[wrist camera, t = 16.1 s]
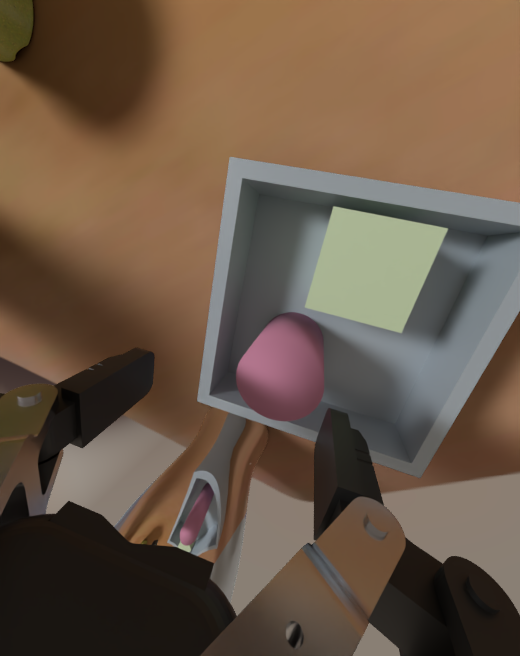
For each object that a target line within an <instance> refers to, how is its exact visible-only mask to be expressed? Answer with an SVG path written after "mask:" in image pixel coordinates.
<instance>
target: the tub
mask: <svg viewBox="0 0 520 656" xmlns="http://www.w3.org/2000/svg"><path fill="white" fill-rule="evenodd" d="M333 206H335V207H340V208H345V209H351V210H356V211H361V212H366V213H371V214H376V215H382V216H387V217H392V218H397V219H402V220H407V221H412V222H418V223H423V224H428V225H433V226H438V227H443V228H448V230H447V233H446V235H445V237H444V239H443V241H442V244H441V246H440V248H439V250H438V253H437V255H436V257H435V259H434V262H433V264H432V266H431V268H430V271H429V273H428V275H427V277H426V279H425V282H424V284H423V286H422V288H421V291H420V293H419V295H418V297H417V300H416V302H415V304H414V306H413V309H412V311H411V313H410V315H409V317H408V320H407V322H406V324H405V326H404V329H403V331H402V333H399V332H395V331H391V330H387V329H384V328H380V327H376V326H372V325H369V324H365V323H361V322H357V321H354V320H350V319H346V318H342V317H339V316H335V315H331V314H327V313H324V312H320V311H316V310H312V309H309V308H305V304H306V301H307V297H308V294H309V290H310V287H311V283H312V280H313V276H314V273H315V269H316V266H317V262H318V259H319V255H320V252H321V248H322V245H323V241H324V238H325V234H326V231H327V227H328V224H329V220H330V217H331V213H332V210H333ZM519 311H520V203H517V202H511V201H504V200H498V199H492V198H486V197H479V196H473V195H467V194H460V193H454V192H448V191H442V190H435V189H429V188H423V187H416V186H410V185H404V184H398V183H391V182H385V181H379V180H372V179H366V178H360V177H354V176H347V175H341V174H335V173H328V172H322V171H316V170H310V169H303V168H297V167H291V166H284V165H278V164H272V163H265V162H259V161H253V160H247V159H240V158H234V157H230V159H229V166H228V174H227V181H226V189H225V196H224V204H223V211H222V219H221V226H220V234H219V241H218V249H217V256H216V263H215V271H214V278H213V286H212V293H211V301H210V308H209V316H208V323H207V331H206V338H205V346H204V353H203V361H202V368H201V375H200V383H199V390H198V398H197V401H198V402H201V403H204V404H206V405H209V406H212V407H215V408H218V409H221V410H224V411H227V412H230V413H232V414H235V415H238V416H241V417H244V418H247V419H250V420H253V421H256V422H259V423H261V424H264V425H267V426H270V427H273V428H276V429H279V430H282V431H285V432H288V433H290V434H293V435H296V436H299V437H302V438H305V439H308V440H311V441H314V442H316V439H317V436H318V433H319V431H320V428H321V425H322V422H323V420H324V417H325V414H326V412H327V410H328V408H332V409H335V410H338V411H341V412H344V413H347V414H348V416H349V421H350V426H351V428H353V429H356V430H359V432H360V433H361V434H362V436H363V437H364V439H365V440H366V442H367V445H368V449H369V452H370V456H371V460H372V462H374V463H377V464H380V465H383V466H386V467H389V468H392V469H395V470H398V471H400V472H403V473H406V474H409V475H412V476H415V477H418V478H421V476H422V475H423V473H424V471H425V469H426V468H427V466H428V464H429V463H430V461H431V459H432V458H433V456H434V454H435V453H436V451H437V449H438V448H439V446H440V444H441V443H442V441H443V439H444V437H445V436H446V434H447V432H448V431H449V429H450V427H451V426H452V424H453V422H454V421H455V419H456V417H457V416H458V414H459V412H460V411H461V409H462V407H463V405H464V404H465V402H466V400H467V399H468V397H469V395H470V394H471V392H472V390H473V389H474V387H475V385H476V384H477V382H478V380H479V379H480V377H481V375H482V373H483V372H484V370H485V368H486V367H487V365H488V363H489V362H490V360H491V358H492V357H493V355H494V353H495V352H496V350H497V348H498V347H499V345H500V343H501V341H502V340H503V338H504V336H505V335H506V333H507V331H508V330H509V328H510V326H511V325H512V323H513V321H514V320H515V318H516V316H517V315H518V313H519ZM287 312H296V313H301V314H304V315H306V316H308V317H309V318H311V319H312V320H313V321H315V323H316V324H317V325H318V326H319V328H320V330H321V332H322V335H323V341H324V393H323V397H322V399H321V402H320V403H319V405H318V406H317V408H316V409H315V410H314V411H313V412H311V413H310V414H309V415H307V416H305V417H303V418H301V419H298V420H294V421H277V420H272V419H269V418H266V417H264V416H262V415H260V414H258V413H257V412H255V411H254V410H253V409H251V408H250V407H249V406H248V405H247V404H246V402H245V401H244V400H243V398H242V396H241V395H240V392H239V390H238V387H237V382H236V372H237V367H238V364H239V362H240V360H241V358H242V357H243V356H244V354H245V353H246V352H247V350H248V349H249V348H250V346H251V345H252V344H253V342H254V341H255V340H256V339H257V337H258V336H259V335H260V333H261V332H262V331H263V329H264V328H265V327H266V325H267V324H268V323H269V322H270V321H271V320H272V319H273V318H274V317H276V316H278V315H280V314H283V313H287Z"/></svg>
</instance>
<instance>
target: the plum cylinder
mask: <svg viewBox="0 0 520 656" xmlns="http://www.w3.org/2000/svg"><path fill="white" fill-rule="evenodd" d="M236 382H237V387H238V390H239V392H240V395H241V396H242V398H243V400H244V401H245V402H246V404H247V405H248V406H249V407H250V408H251V409H253V410H254V411H255V412H257V413H258V414H260V415H262V416H264V417H266V418H269V419H272V420H277V421H294V420H298V419H301V418H303V417H305V416H307V415H309V414H310V413H311V412H313V411H314V410H315V409H316V408H317V406H318V405H319V403H320V402H321V399H322V397H323V393H324V341H323V335H322V332H321V330H320V328H319V326H318V325H317V324H316V323H315V321H313V320H312V319H311V318H309V317H308V316H306V315H304V314H301V313H296V312H287V313H283V314H280V315H278V316H276V317H274V318H273V319H272V320H271V321H270V322H269V323H268V324H267V325H266V327H265V328H264V329H263V331H262V332H261V333H260V335H259V336H258V337H257V339H256V340H255V341H254V342H253V344H252V345H251V346H250V348H249V349H248V350H247V352H246V353H245V354H244V356H243V357H242V358H241V360H240V362H239V364H238V367H237V372H236Z"/></svg>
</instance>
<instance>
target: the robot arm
mask: <svg viewBox="0 0 520 656" xmlns="http://www.w3.org/2000/svg"><path fill="white" fill-rule="evenodd" d="M153 373H154V354H153V353H152V352H150V351H146V350H143V349H140V348H134V349H132V350H130V351H128V352H126V353H124V354H123V355H118V356H114V357H110V358H107V359H105V360H103V361H101V362H99V363H98V364H97V365H96V364H95V365H94V366H92V367H90V368H89V369H86V370H84V371H82V372H80V373H78V374H76V375H74V376H72V377H70V378H68V379H66V380H64V381H62V382H60V383H58V384H56V385H54V386H52V385H48V384H31V385H26V386H22V387H19V388H16V389H13V390H12V391H9V392H8V393H6V394H1V393H0V656H353V654H354V652H355V650H356V648H357V646H358V644H359V642H360V640H361V638H362V636H363V634H364V632H365V630H366V628H367V626H368V624H369V623H371V624H372V625H373V626H374V627H375V628H376V629H377V630H379V631H380V632H381V633H382V634H383V635H384V636H386V637H387V638H388V639H389V640H390V641H391V642H392V643H393V644H395V645H396V646H397V647H398V648H399V651H400V656H520V615H519V613H518V611H517V609H516V608H515V606H514V604H513V603H512V601H511V600H510V598H509V597H508V596H507V594H506V593H505V592H504V591H503V589H502V588H501V587H500V586H499V585H498V584H497V583H496V582H495V580H494V579H493V578H492V577H490V576H489V575H488V574H487V573H486V572H485V571H484V570H482V569H481V568H480V567H478V566H477V565H476V564H474V563H472V562H471V561H469V560H467V559H464V558H461V557H457V556H451V557H449V558H448V559H447V560H446V561H445V562H444V563H443V564H442V563H441V562H439V561H438V560H436V559H435V558H433V557H432V556H430V555H429V554H428V553H426V552H425V551H423V550H422V549H420V548H419V547H417V546H416V545H414V544H413V543H412V542H410V541H409V540H408V539H407V538H406V537H405V535H404V532H403V530H402V527H401V525H400V524H399V522H398V521H397V519H396V518H395V516H394V515H393V514H392V513H391V512H390V511H389V510H388V509H387V508H386V507H385V506H384V504H383V501H382V497H381V493H380V489H379V486H378V482H377V478H376V474H375V471H374V467H373V466H372V460H371V456H370V452H369V449H368V445H367V442H366V440H365V439H364V437H363V436H362V434H361V433H360V432H359V430H356V429H353V428H351V426H350V421H349V416H348V414H347V413H344V412H341V411H338V410H335V409H332V408H328V410H327V412H326V414H325V417H324V420H323V422H322V425H321V428H320V431H319V433H318V436H317V439H316V444H315V450H314V540H316V541H315V542H314V543H313V544H312V545H311V544H309V543H307V544H306V545H304V546H303V547H302V548H301V549H300V550H299V551H298V552H297V553H296V554H295V555H294V556H293V557H292V559H291V560H290V561H289V562H288V563H287V564H286V565H285V566H284V567H283V568H282V569H281V570H280V571H279V572H278V573H277V574H276V575H275V577H274V578H273V579H272V580H271V581H270V582H269V583H268V584H267V585H266V586H265V587H264V588H263V589H262V590H261V591H260V592H259V594H258V595H257V596H256V597H255V598H254V599H253V600H252V601H251V602H250V603H249V604H248V605H247V606H246V607H245V608H244V609H243V610H242V612H241V613H240V614H239V615H238V616H236V613H235V611H234V609H233V607H232V605H231V604H230V602H229V600H228V599H227V597H226V595H225V594H224V593H223V592H222V590H221V589H220V588H219V587H218V585H217V584H216V583H214V582H213V581H212V580H211V575H212V571H213V566H214V563H213V562H210V561H208V560H206V559H203V558H201V557H199V556H196V555H194V554H192V553H189V552H187V551H185V550H182V549H180V548H178V547H172V546H160V545H147V544H135V543H131V542H129V541H128V540H126V539H125V538H124V537H123V536H122V535H121V534H120V533H119V532H118V531H117V530H116V529H115V528H114V527H113V526H112V525H111V524H110V523H109V522H108V521H107V520H106V519H105V518H104V517H103V516H102V515H101V514H98V513H96V512H94V511H91V510H89V509H87V508H84V507H82V506H79V505H77V504H75V503H73V502H70V501H68V502H67V503H66V504H65V505H64V506H63V507H62V508H61V509H60V510H59V511H58V513H56V514H46V509H47V504H48V500H49V498H50V494H51V491H52V488H53V485H54V482H55V479H56V476H57V473H58V469H59V467H60V463H61V460H62V457H63V448H64V447H66V446H67V445H68V444H69V443H71V444H73V445H75V446H78V447H80V448H83V447H85V446H86V445H87V444H88V443H89V442H90V441H92V440H93V439H94V438H95V437H97V436H98V435H99V434H100V433H101V432H102V431H104V430H105V429H106V428H107V427H108V426H110V425H111V424H112V423H113V422H114V421H116V420H117V419H118V418H119V417H120V416H121V415H123V414H124V413H125V412H126V411H128V410H129V409H130V408H131V407H132V406H133V405H135V404H136V403H137V402H138V401H139V400H141V399H142V398H143V397H144V396H145V395H146V394H147V393H148V392H149V391H150V389H151V387H152V384H153Z"/></svg>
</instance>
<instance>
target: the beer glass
mask: <svg viewBox="0 0 520 656" xmlns="http://www.w3.org/2000/svg"><path fill="white" fill-rule="evenodd" d="M267 442H268V429H267V425H264V424H261V423H259V422H256V421H253V420H250V419H247V418H244V417H241V416H238V415H235V414H232V413H230V412H227V411H224V410H221V409H218V408H215V407H211V408H210V409H209V411H208V412H207V414H206V416H205V418H204V420H203V422H202V425H201V427H200V430H199V432H198V434H197V436H196V437H195V439H194V440H193V441H192V443H191V444H190V445H189V447H188V448H187V449H186V450H185V451H184V452H183V453H182V454H181V455H180V456H179V457H178V458H177V459H176V460H175V461H174V462H173V463H172V464H171V465H170V466H169V467H168V468H167V469H166V470H165V471H164V472H163V473H162V474H161V475H160V476H159V477H158V478H157V479H156V480H155V481H154V482H153V483H152V484H151V485H150V486H149V487H148V488H147V489H146V490H145V491H144V492H143V493H142V494H141V495H140V497H139V498H138V499H137V500H136V501H135V502H134V503H133V504H132V505H131V506H130V508H129V509H128V510H127V511H126V513H125V514H124V515H123V516H122V518H121V519H120V520H119V521H118V523H117V524H116V525H115V526H114V528H115V529H116V530H117V531H118V532H119V533H120V534H121V535H122V536H123V537H124V538H125V539H126V540H128V541H129V542H131V543H135V544H147V545H160V546H172V547H178V548H180V549H182V550H185V551H187V552H189V553H192V554H194V555H196V556H199V557H201V558H203V559H206V560H208V561H210V562H213V563H214V566H213V571H212V575H211V580H212V581H213V582H214V583H216V584H217V585H218V587H219V588H220V589H221V590H222V592H223V593H224V594H225V595H226V597H227V599H228V600H229V602H231V598H232V594H233V590H234V586H235V582H236V577H237V573H238V567H239V561H240V556H241V550H242V544H243V538H244V537H243V536H244V530H245V522H246V514H247V504H248V496H249V489H250V482H251V478H252V474H253V471H254V468H255V466H256V464H257V461H258V460H259V458H260V456H261V455H262V453H263V451H264V449H265V447H266V445H267Z"/></svg>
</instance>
